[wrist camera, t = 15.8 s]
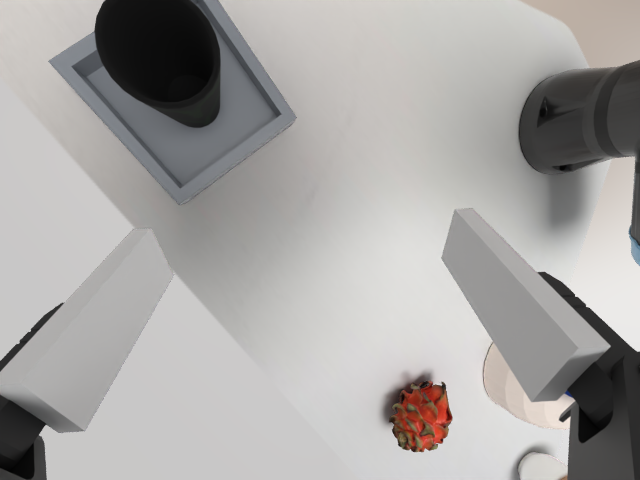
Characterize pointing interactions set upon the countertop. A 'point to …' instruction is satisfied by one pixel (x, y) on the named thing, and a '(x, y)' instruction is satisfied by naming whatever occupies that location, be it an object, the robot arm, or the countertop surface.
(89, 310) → the robot arm
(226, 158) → the box
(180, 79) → the cup
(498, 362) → the kettle
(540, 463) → the lidded jar
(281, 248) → the countertop surface
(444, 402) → the dragon fruit
